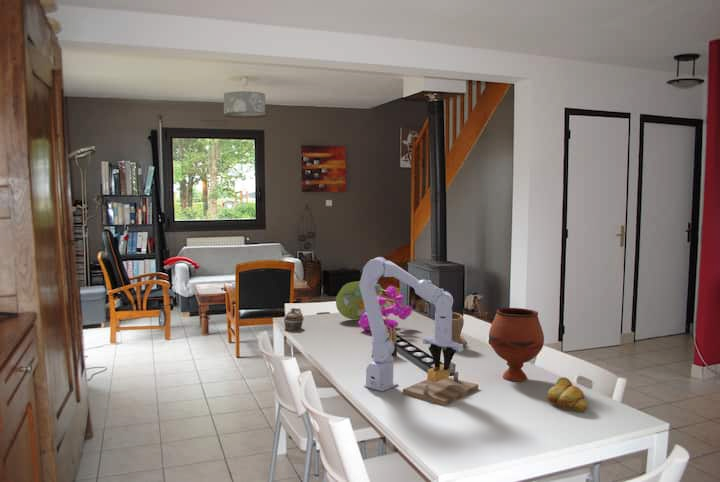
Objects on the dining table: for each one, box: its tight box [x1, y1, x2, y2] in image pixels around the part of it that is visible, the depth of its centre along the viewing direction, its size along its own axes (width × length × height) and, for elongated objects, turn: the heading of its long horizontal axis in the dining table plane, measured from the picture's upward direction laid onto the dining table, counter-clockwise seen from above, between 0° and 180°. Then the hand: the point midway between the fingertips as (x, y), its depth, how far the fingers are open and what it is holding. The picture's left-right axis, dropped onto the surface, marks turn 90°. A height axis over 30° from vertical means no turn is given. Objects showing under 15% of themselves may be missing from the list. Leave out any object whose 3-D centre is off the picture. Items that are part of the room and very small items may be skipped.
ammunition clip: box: [371, 327, 398, 358], centre depth 229 cm, size 11×2×12 cm, turn 115°
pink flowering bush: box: [335, 280, 413, 332], centre depth 285 cm, size 30×28×35 cm
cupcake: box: [283, 307, 305, 332], centre depth 275 cm, size 10×10×10 cm
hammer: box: [426, 362, 457, 382], centre depth 188 cm, size 13×4×4 cm, turn 140°
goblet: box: [488, 307, 545, 383], centre depth 203 cm, size 19×19×25 cm
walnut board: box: [402, 370, 479, 407], centre depth 188 cm, size 22×16×4 cm
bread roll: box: [547, 376, 589, 412], centre depth 176 cm, size 13×10×8 cm
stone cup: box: [451, 312, 468, 346], centre depth 248 cm, size 15×12×15 cm
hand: (441, 368), depth 187 cm, fingers closed on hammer, 3 cm apart
